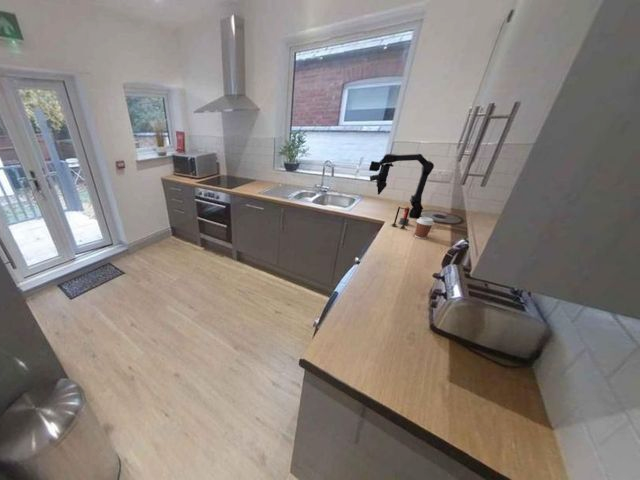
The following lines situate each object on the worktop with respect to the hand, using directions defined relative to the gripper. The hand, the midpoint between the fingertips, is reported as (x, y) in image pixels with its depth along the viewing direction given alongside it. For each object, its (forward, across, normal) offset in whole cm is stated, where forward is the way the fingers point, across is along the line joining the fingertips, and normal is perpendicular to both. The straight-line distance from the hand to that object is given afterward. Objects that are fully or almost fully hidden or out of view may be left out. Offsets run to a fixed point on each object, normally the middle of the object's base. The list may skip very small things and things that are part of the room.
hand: (378, 192), depth 193 cm
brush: (+14, +19, +19) cm, 30 cm away
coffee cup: (+14, +37, +27) cm, 48 cm away
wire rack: (+15, +26, +16) cm, 34 cm away
